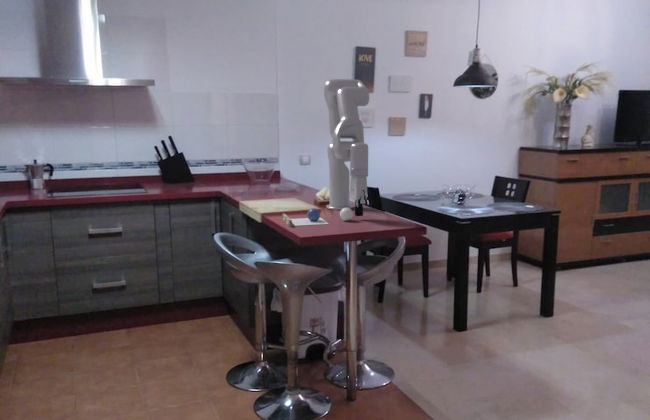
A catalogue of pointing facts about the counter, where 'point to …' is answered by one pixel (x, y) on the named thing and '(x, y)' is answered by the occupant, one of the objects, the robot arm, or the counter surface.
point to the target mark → (308, 222)
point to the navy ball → (313, 214)
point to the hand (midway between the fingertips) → (358, 215)
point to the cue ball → (346, 214)
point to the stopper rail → (287, 220)
